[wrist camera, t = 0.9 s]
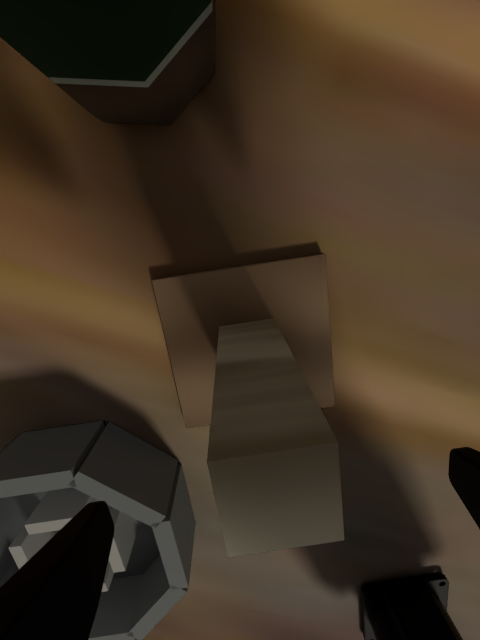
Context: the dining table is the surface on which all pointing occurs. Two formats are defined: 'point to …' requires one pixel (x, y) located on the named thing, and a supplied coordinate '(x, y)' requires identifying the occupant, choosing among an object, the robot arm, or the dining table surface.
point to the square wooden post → (270, 447)
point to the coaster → (241, 307)
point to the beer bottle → (118, 52)
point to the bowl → (125, 507)
